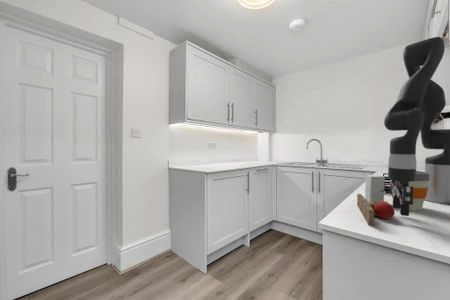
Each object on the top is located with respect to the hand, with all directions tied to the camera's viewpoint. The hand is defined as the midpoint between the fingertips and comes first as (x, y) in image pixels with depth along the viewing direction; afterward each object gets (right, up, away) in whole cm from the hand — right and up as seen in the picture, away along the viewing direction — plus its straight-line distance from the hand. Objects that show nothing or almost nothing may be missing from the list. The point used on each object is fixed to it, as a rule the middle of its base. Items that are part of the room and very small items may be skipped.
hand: (400, 211), depth 74 cm
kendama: (-5, -3, +6) cm, 8 cm away
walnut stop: (-10, -2, +4) cm, 11 cm away
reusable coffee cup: (+14, -2, +13) cm, 19 cm away
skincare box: (+5, -2, +20) cm, 21 cm away
